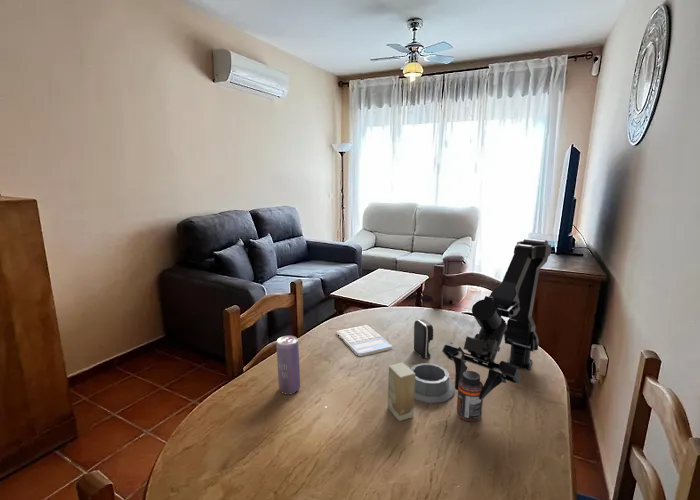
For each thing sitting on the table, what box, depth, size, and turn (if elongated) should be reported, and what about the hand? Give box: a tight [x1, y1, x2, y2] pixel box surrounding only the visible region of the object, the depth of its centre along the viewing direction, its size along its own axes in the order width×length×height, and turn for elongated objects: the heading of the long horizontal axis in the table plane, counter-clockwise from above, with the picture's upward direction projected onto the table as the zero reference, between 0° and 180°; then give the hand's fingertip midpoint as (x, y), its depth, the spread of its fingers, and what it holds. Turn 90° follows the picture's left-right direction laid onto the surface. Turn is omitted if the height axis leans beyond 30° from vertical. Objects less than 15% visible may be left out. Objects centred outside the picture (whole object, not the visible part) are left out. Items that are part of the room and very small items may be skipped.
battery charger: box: [413, 319, 434, 359], centre depth 127 cm, size 7×4×11 cm, turn 21°
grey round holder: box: [410, 362, 456, 404], centre depth 108 cm, size 14×14×5 cm
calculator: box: [336, 324, 393, 357], centre depth 138 cm, size 13×20×2 cm, turn 24°
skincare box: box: [387, 361, 415, 422], centre depth 97 cm, size 6×4×12 cm
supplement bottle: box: [456, 370, 484, 423], centre depth 96 cm, size 6×6×11 cm
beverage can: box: [275, 335, 301, 395], centre depth 107 cm, size 6×6×15 cm
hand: (467, 394), depth 94 cm, fingers closed on supplement bottle, 6 cm apart
